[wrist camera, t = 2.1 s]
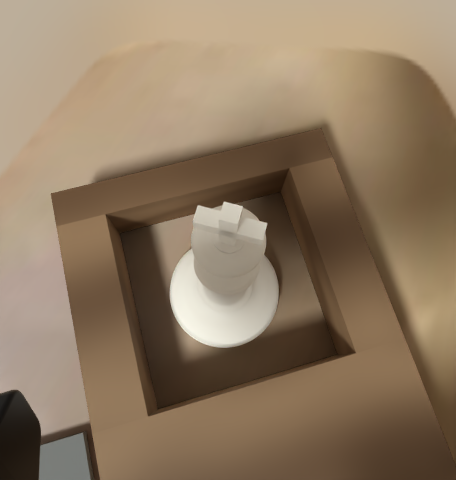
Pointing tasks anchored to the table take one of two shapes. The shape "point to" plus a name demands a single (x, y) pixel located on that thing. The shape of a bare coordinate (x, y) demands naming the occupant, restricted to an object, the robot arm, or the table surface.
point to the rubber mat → (66, 459)
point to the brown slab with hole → (263, 389)
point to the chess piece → (225, 278)
